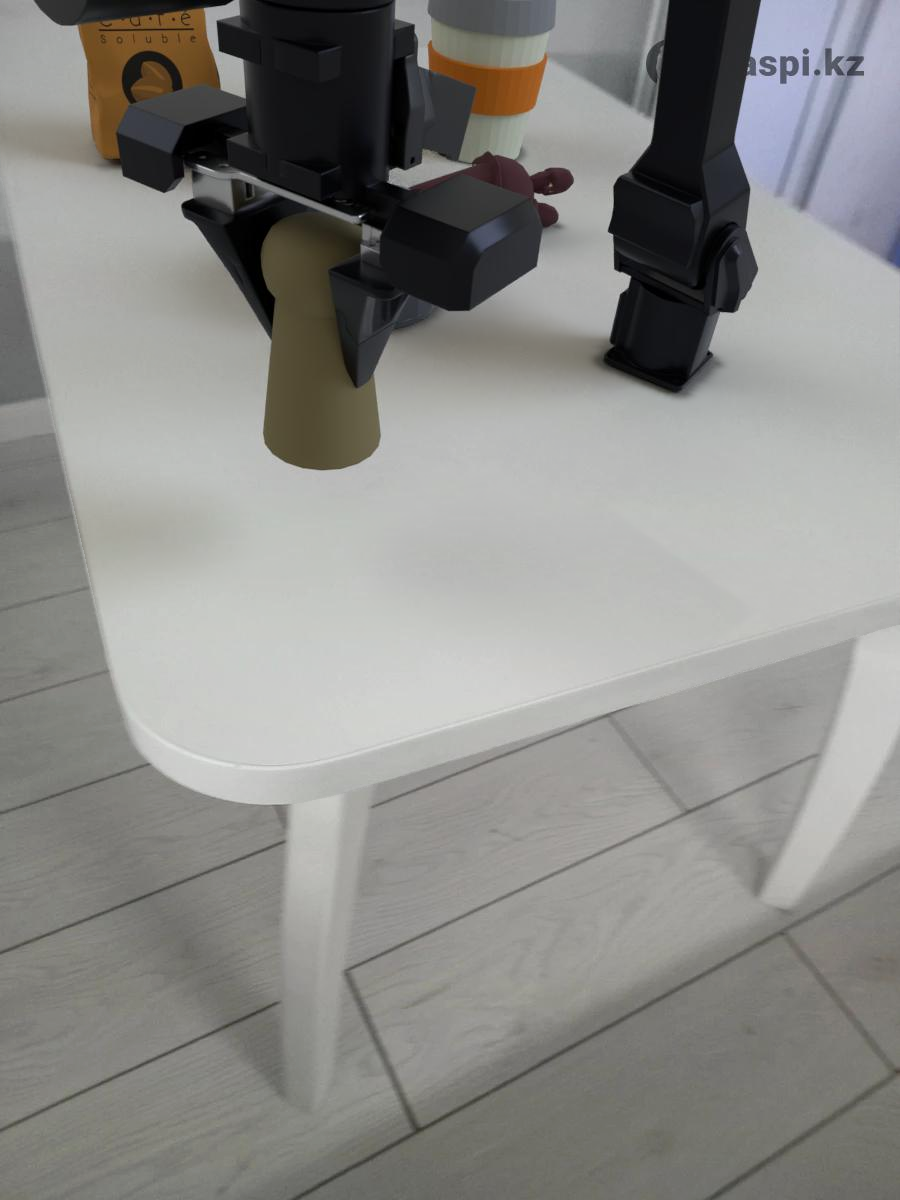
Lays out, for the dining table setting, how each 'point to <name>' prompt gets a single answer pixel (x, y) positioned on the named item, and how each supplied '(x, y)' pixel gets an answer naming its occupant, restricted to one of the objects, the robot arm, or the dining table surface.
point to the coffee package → (142, 65)
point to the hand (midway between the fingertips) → (323, 366)
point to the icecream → (514, 181)
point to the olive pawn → (313, 350)
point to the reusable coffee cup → (493, 64)
